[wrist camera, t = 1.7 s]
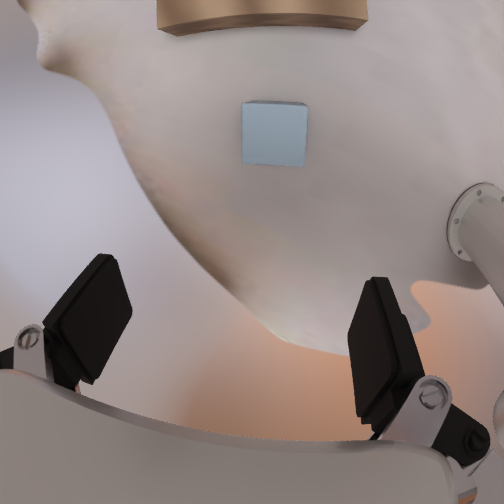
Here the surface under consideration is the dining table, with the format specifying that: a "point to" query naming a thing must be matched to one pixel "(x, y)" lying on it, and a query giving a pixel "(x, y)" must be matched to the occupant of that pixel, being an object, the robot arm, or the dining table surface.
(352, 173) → the dining table surface
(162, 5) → the riser block
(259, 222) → the dining table surface
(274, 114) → the blue block
